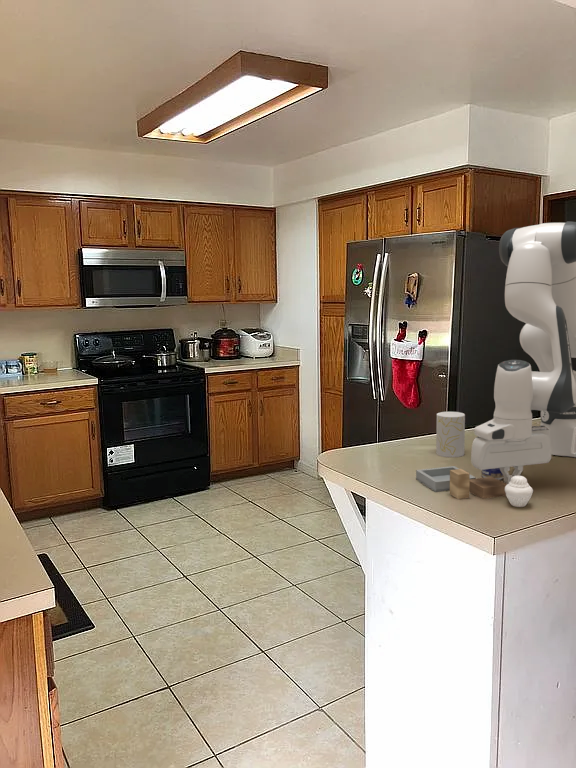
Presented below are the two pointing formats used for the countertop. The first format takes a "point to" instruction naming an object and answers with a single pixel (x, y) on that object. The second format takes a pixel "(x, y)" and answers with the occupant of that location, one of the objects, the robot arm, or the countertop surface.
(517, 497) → the white lidded jar
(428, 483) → the tray
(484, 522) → the countertop surface
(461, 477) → the block
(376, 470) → the countertop surface
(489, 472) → the pill bottle
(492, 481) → the brown flat block
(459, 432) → the cup
